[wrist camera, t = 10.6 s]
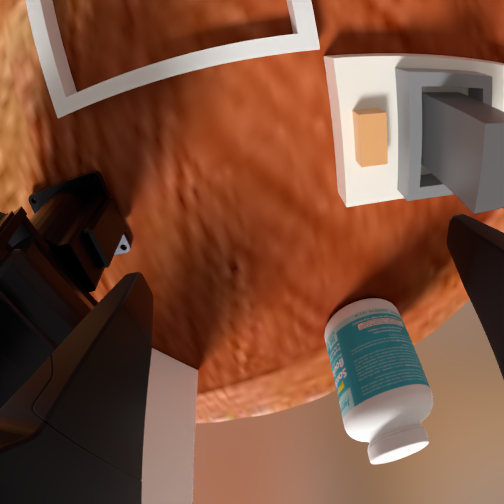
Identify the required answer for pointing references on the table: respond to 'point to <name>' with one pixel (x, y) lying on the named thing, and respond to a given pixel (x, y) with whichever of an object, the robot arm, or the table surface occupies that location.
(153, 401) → the milk
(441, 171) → the plug
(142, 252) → the table surface
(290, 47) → the white square frame
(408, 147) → the power strip
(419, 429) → the pill bottle
